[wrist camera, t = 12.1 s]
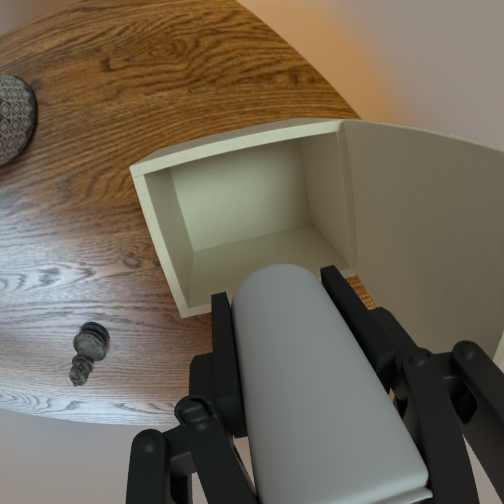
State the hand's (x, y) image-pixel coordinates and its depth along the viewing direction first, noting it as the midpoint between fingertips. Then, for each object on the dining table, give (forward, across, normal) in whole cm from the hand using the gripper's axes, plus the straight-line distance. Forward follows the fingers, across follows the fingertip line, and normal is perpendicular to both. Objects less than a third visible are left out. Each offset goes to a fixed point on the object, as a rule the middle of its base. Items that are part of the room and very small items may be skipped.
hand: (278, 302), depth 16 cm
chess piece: (+26, -28, -17) cm, 42 cm away
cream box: (+26, +1, 0) cm, 26 cm away
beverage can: (+1, 0, 0) cm, 1 cm away
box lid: (+2, +8, 0) cm, 8 cm away
